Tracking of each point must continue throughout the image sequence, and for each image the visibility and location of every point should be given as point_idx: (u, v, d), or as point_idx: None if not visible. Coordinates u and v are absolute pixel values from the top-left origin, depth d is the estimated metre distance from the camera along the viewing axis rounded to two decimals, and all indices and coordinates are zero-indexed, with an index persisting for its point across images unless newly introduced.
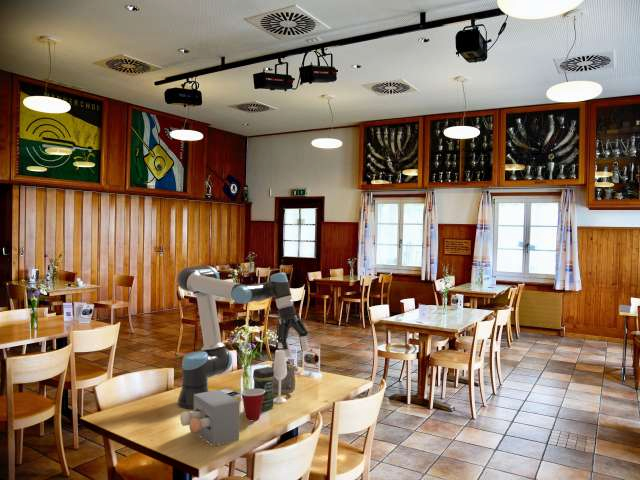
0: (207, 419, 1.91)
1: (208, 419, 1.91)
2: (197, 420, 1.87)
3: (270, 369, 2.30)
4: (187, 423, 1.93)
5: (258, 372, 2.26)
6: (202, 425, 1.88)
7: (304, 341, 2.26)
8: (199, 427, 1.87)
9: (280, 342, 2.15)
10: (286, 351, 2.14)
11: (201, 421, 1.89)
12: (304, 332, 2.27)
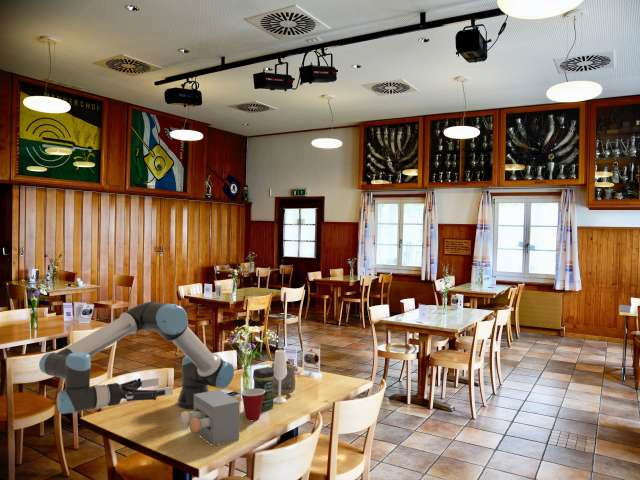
0: (207, 419, 1.91)
1: (208, 419, 1.91)
2: (197, 420, 1.87)
3: (270, 369, 2.30)
4: (187, 423, 1.93)
5: (258, 372, 2.26)
6: (202, 425, 1.88)
7: None
8: (199, 427, 1.87)
9: None
10: None
11: (201, 421, 1.89)
12: None
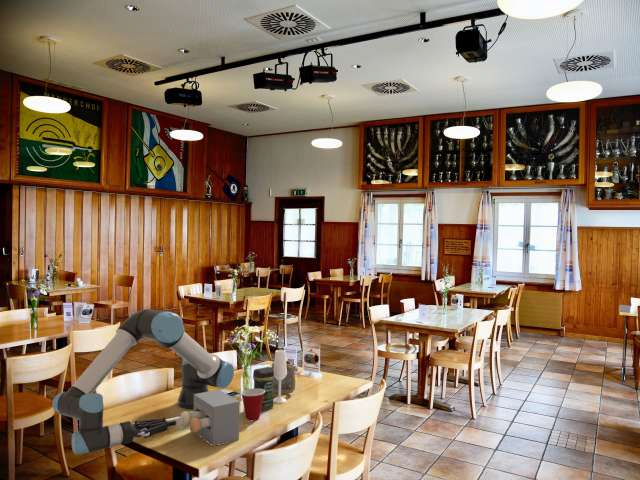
0: (207, 419, 1.91)
1: (208, 419, 1.91)
2: (197, 420, 1.87)
3: (270, 369, 2.30)
4: (187, 423, 1.93)
5: (258, 372, 2.26)
6: (202, 425, 1.88)
7: None
8: (199, 427, 1.87)
9: (164, 418, 1.91)
10: None
11: (201, 421, 1.89)
12: None
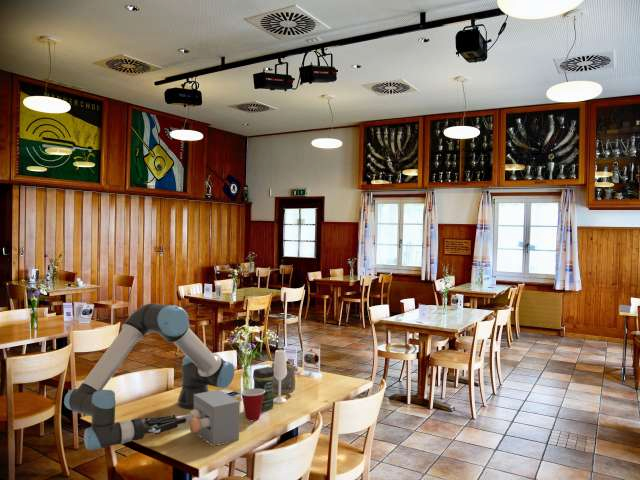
0: (207, 419, 1.91)
1: (208, 419, 1.91)
2: (197, 420, 1.87)
3: (270, 369, 2.30)
4: None
5: (258, 372, 2.26)
6: (202, 425, 1.88)
7: None
8: (199, 427, 1.87)
9: (174, 416, 1.94)
10: None
11: (201, 421, 1.89)
12: None
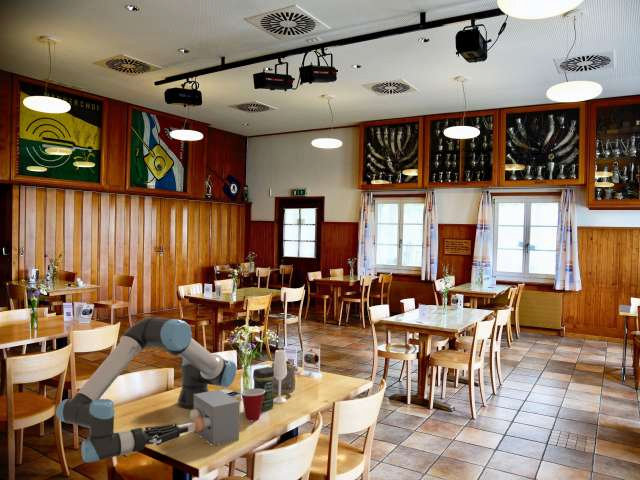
0: (210, 418, 1.91)
1: None
2: (200, 419, 1.88)
3: (270, 369, 2.30)
4: None
5: (258, 372, 2.26)
6: (205, 424, 1.89)
7: None
8: (202, 427, 1.87)
9: (176, 425, 1.85)
10: None
11: (204, 420, 1.90)
12: None
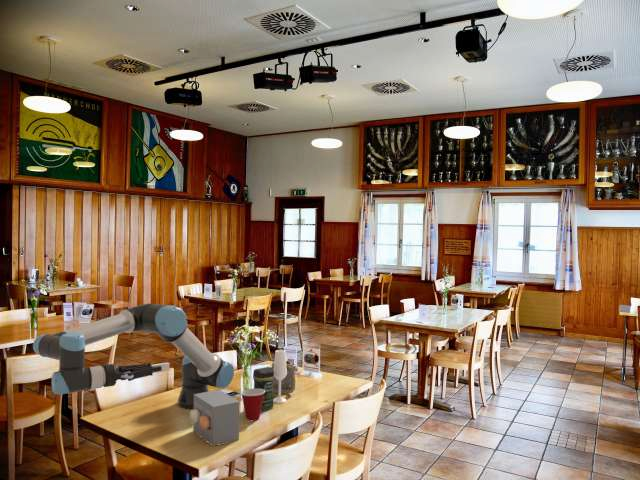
0: None
1: None
2: (206, 418, 1.90)
3: (270, 369, 2.30)
4: (196, 421, 1.95)
5: (258, 372, 2.26)
6: None
7: None
8: (208, 425, 1.89)
9: None
10: None
11: (210, 419, 1.91)
12: None
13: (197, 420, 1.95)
